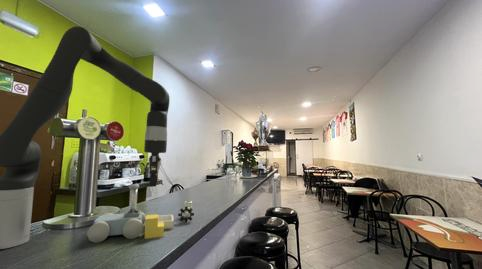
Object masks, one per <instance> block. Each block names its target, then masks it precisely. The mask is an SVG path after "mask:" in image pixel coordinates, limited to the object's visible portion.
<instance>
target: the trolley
mask: <svg viewBox="0 0 482 269" xmlns="http://www.w3.org/2000/svg"><path fill="white" fill-rule="evenodd" d="M145 219H146V214H145V213H144V211H141V209H136V213H131V214H129V210H126V212H124V213H115V214H114V213H111V212H106V213H104V214H101V215H100V216H98V217H97V218H96V219H95V220H94V221H93V224H92V225H91V226H90V227H88V228H89V229H88V231H87V233H86V234H87V238H88V240H89V241H90V242H91V243H95V244H96V243H97V244H98V243H101V242H103V241H105V240H106V239H107V237H108V236H109V237H110V236H119V235H123V237H125V238H126V239H128V240H129V239H130V240H131V239H132V240H133V239H136V238H138V237H139V236H140V235H141V234H142V232H143V228H144V225H145Z"/></svg>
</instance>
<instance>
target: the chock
mask: <svg viewBox="0 0 482 269" xmlns="http://www.w3.org/2000/svg"><path fill="white" fill-rule="evenodd" d="M158 216H159V214H147V215H145V217H146V219H145V222H144V240H145V239H153V238H154V239H155V238H156V239H157V238H164V234H165V232H164V231H165V230H164V222H160V223H158Z"/></svg>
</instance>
